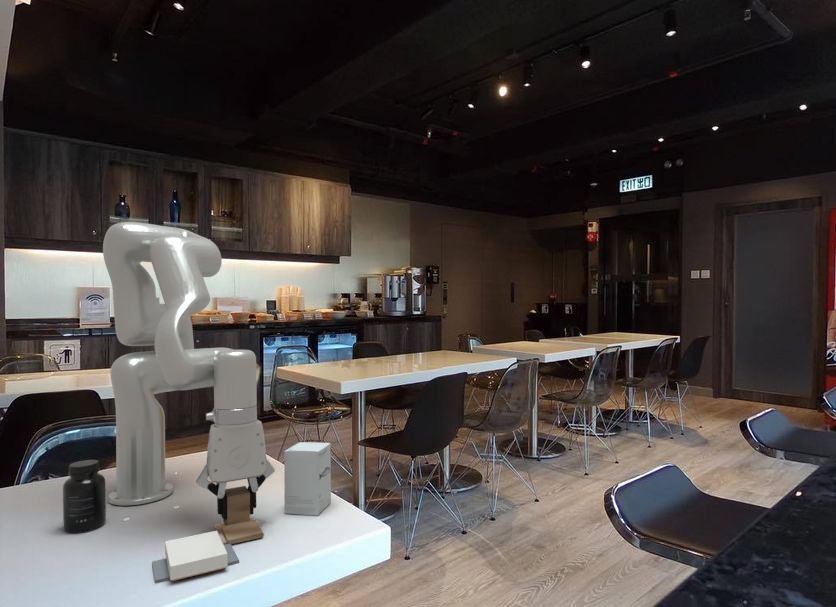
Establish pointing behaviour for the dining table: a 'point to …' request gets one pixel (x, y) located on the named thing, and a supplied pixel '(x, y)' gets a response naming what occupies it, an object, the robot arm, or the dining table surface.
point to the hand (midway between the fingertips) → (237, 513)
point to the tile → (195, 555)
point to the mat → (162, 569)
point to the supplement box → (307, 478)
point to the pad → (219, 530)
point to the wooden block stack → (239, 517)
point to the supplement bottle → (84, 497)
